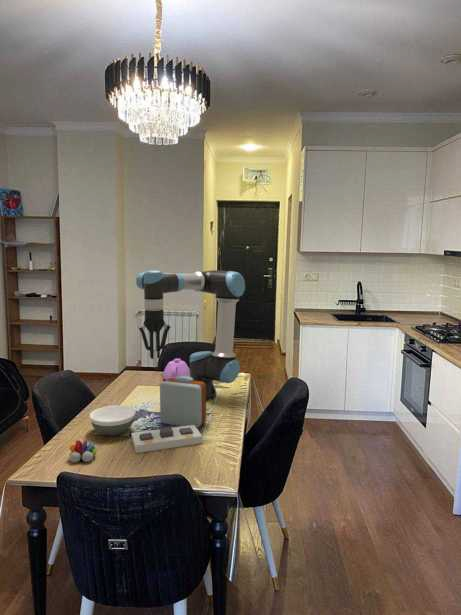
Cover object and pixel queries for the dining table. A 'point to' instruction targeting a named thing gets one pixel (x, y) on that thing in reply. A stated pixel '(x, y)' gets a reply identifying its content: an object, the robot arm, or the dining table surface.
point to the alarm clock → (183, 401)
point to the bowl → (112, 419)
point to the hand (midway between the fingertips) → (155, 365)
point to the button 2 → (186, 431)
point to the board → (166, 439)
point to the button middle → (166, 432)
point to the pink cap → (176, 369)
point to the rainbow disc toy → (82, 451)
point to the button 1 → (146, 436)
